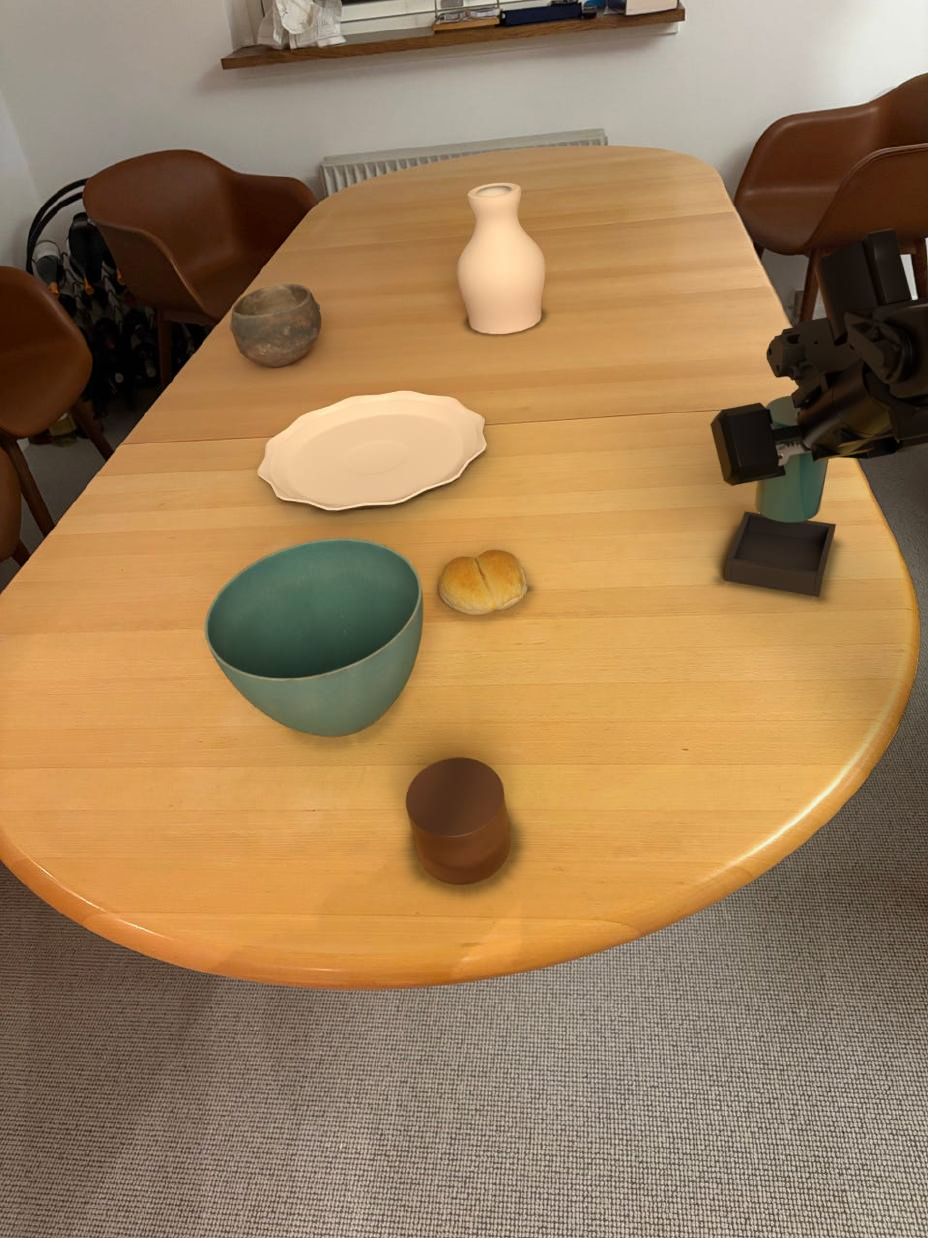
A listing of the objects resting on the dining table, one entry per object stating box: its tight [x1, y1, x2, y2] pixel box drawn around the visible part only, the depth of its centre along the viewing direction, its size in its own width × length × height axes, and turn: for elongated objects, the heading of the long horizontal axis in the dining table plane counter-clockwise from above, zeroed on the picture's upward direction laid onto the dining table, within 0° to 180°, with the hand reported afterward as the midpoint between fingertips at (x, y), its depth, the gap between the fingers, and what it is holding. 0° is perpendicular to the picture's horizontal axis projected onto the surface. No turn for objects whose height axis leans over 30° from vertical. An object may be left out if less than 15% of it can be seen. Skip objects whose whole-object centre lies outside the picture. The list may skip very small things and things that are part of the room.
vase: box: [456, 182, 547, 335], centre depth 139 cm, size 14×14×20 cm
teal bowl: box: [204, 537, 424, 738], centre depth 77 cm, size 18×18×12 cm
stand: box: [405, 757, 512, 886], centre depth 66 cm, size 7×7×6 cm
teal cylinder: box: [754, 395, 830, 523], centre depth 82 cm, size 6×6×10 cm
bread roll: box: [437, 549, 528, 616], centre depth 90 cm, size 8×9×4 cm
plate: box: [256, 390, 488, 513], centre depth 114 cm, size 29×29×2 cm
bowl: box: [229, 283, 322, 368], centre depth 140 cm, size 14×15×10 cm
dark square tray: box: [723, 511, 837, 598], centre depth 88 cm, size 9×9×2 cm
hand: (786, 456), depth 83 cm, fingers closed on teal cylinder, 6 cm apart
